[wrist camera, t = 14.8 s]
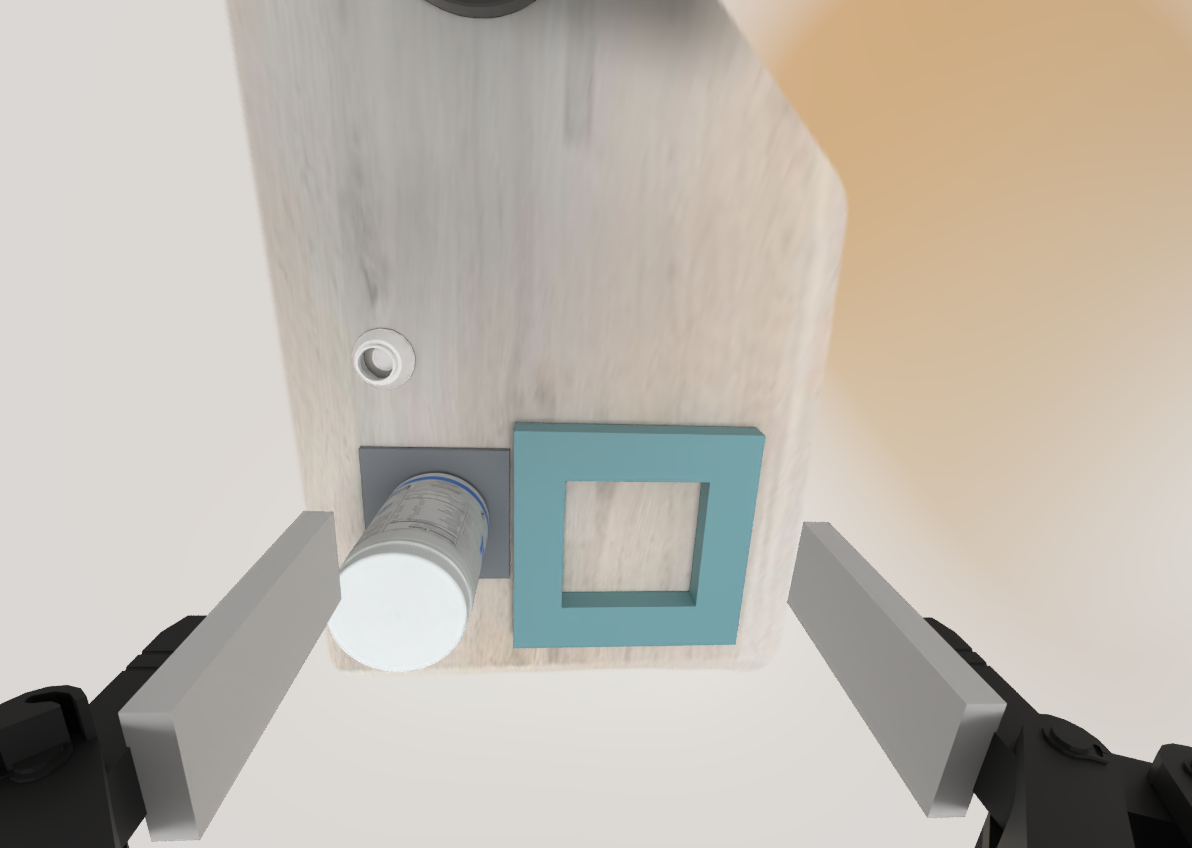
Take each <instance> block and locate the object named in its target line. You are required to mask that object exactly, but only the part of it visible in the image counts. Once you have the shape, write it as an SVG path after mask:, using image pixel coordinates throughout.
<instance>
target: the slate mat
mask: <svg viewBox="0 0 1192 848" xmlns="http://www.w3.org/2000/svg"><path fill="white" fill-rule="evenodd" d="M359 460H360V471H361V483H362V495H363V506H364V518H365V530H366V529H367V528H368V526H369V525H370V523H371V522H372V520H373V519H374V517H375V516H376V515H377V513H378V512H379V510H380V509H381V507H382V506H383V505H384V503H385V502H386V500H387V499H388V497H389V496H390V495H391V493H392V492H393V491H394V490H395V489H396V488H397V487H398V486H399V485H400V484H402V483H403V482H405V481H406V480H408V479H410V478H412V477H415V476H418V475H422V474H427V473H443V474H448V475H452V476H455V477H458V478H460V479H462V480H464V481H465V482H467V483H468V484H470V485H471V486H472V487H473V488H474V489H475V490H477V492H478V493H479V494H480V495H481V497H482V498H483V500H484V502H485V504H486V506H487V510H488V513H489V533H488V539H487V543H486V548H485V552H484V556H483V561H482V565H481V570H480V575H479V579H483V578H510V449H489V448H425V447H362V446H361V447H360V448H359Z"/></svg>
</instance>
